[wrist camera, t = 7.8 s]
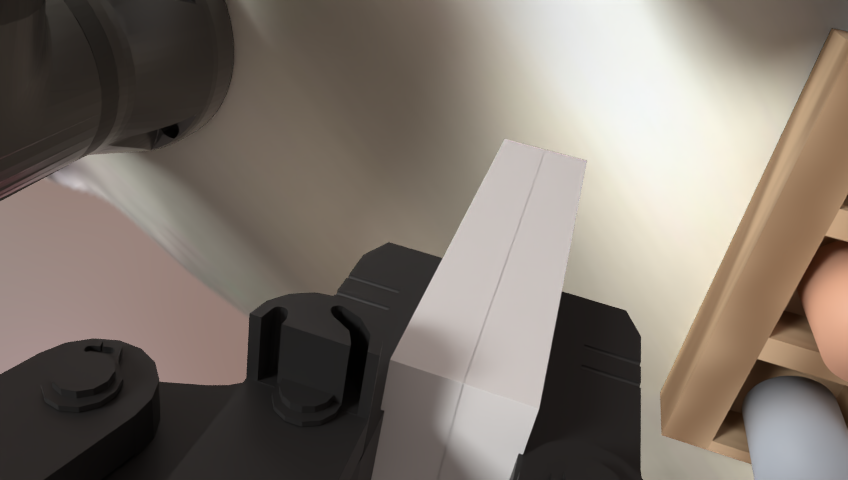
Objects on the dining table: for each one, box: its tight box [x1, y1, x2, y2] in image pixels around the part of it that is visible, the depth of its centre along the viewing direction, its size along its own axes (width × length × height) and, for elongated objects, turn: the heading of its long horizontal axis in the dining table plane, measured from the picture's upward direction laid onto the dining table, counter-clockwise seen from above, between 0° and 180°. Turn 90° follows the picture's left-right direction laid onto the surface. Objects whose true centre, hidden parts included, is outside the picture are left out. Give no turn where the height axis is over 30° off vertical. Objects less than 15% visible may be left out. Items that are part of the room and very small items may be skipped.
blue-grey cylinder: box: [742, 376, 848, 480], centre depth 37 cm, size 5×5×6 cm
